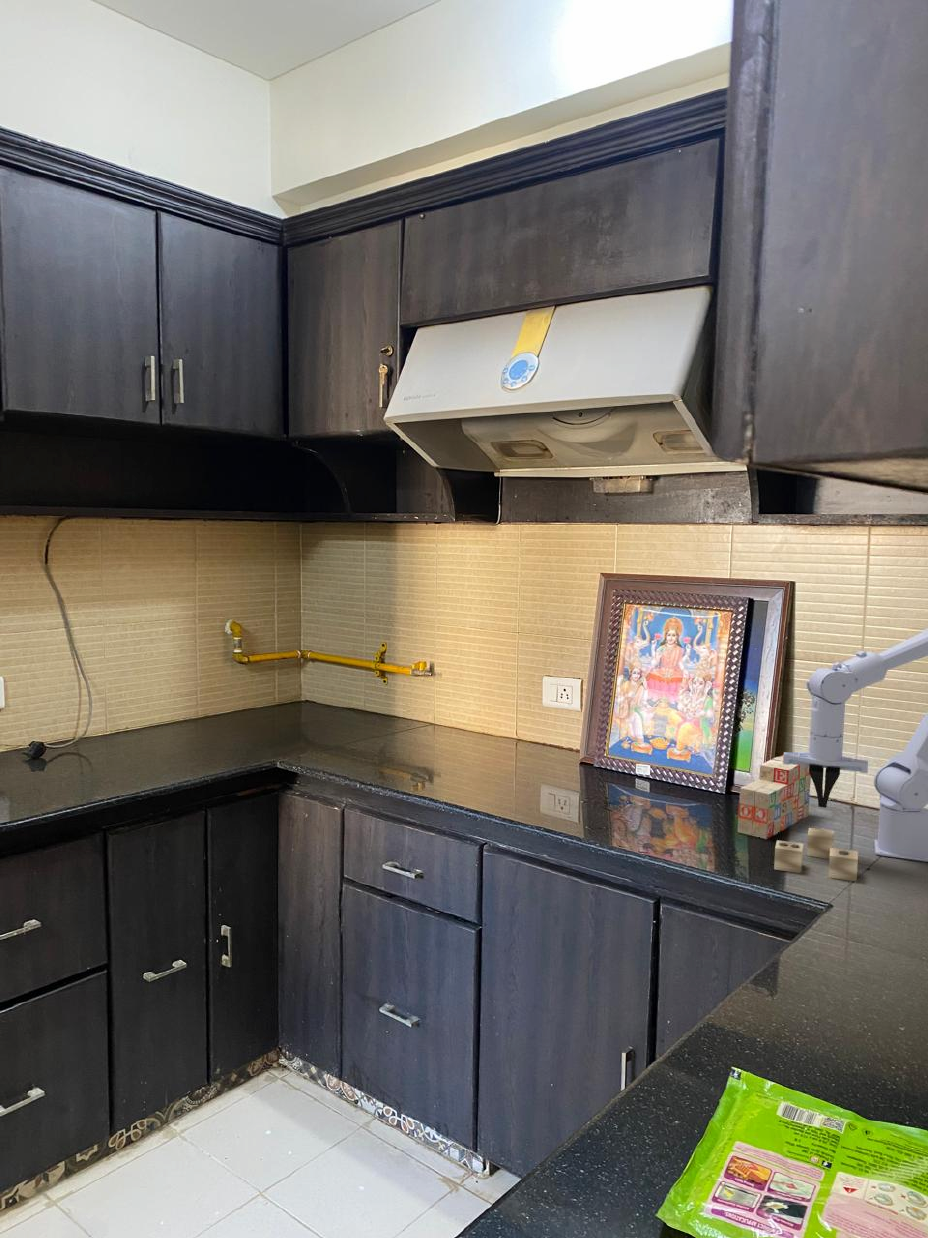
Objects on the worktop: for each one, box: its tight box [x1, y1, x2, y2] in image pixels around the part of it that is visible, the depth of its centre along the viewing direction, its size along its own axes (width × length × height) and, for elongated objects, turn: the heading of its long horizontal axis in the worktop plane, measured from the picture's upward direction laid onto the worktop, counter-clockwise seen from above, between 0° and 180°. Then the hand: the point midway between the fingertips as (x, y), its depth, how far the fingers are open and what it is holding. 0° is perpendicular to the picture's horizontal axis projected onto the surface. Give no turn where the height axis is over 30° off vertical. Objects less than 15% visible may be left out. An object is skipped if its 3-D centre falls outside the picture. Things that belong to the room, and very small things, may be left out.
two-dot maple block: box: [773, 839, 804, 874], centre depth 165 cm, size 4×4×4 cm
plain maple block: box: [806, 827, 835, 859], centre depth 172 cm, size 4×4×4 cm
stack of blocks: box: [737, 754, 812, 840], centre depth 189 cm, size 21×6×12 cm, turn 139°
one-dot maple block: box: [828, 847, 859, 882], centre depth 162 cm, size 4×4×4 cm
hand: (822, 806), depth 172 cm, fingers closed
